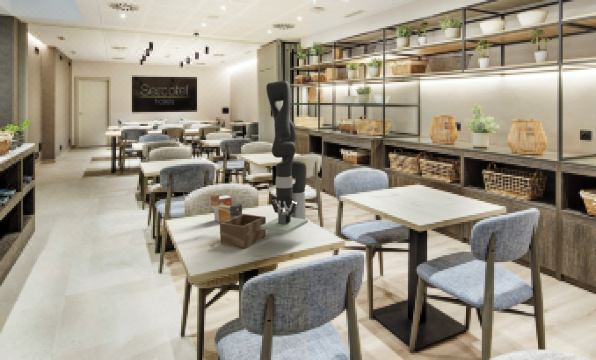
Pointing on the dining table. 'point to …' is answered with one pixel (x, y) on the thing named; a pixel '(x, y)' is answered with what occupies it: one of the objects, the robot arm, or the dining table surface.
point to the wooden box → (241, 229)
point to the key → (216, 204)
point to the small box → (223, 214)
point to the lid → (283, 224)
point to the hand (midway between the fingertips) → (284, 222)
